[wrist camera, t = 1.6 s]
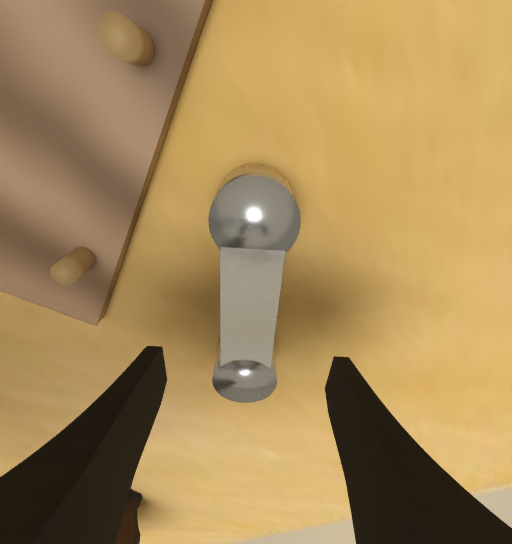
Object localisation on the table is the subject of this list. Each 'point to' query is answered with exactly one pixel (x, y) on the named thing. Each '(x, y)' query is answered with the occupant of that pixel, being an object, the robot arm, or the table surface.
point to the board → (83, 137)
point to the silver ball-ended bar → (250, 276)
